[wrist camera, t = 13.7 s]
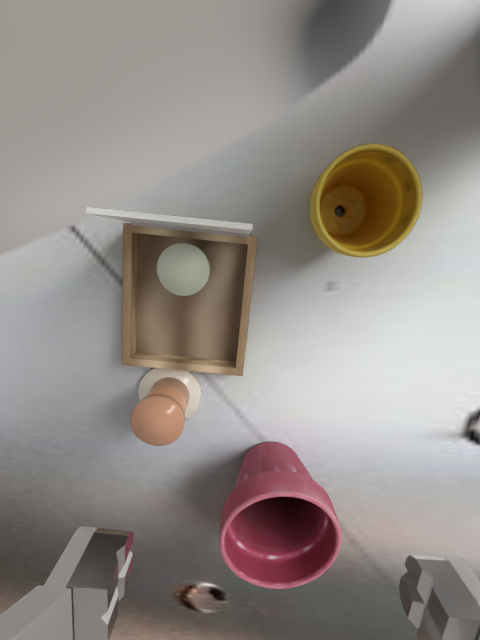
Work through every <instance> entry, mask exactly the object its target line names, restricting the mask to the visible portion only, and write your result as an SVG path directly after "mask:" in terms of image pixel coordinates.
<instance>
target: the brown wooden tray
mask: <svg viewBox="0 0 480 640" xmlns="http://www.w3.org/2000/svg"><path fill="white" fill-rule="evenodd" d="M178 243H187V244H191V245H194V246H196V247H198V248H199V249H201V250H202V251H204V252H205V253H206V255H207V256H208V258H209V260H210V263H211V270H210V275H209V279H208V281H207V283H206V284H205V286H204V287H203V288H202V289H201V290H200V291H198V292H197V293H195V294H193V295H189V296H179V295H176V294H173V293H171V292H169V291H168V290H167V289H166V288H165V287H164V286H163V285H162V284H161V282H160V280H159V278H158V274H157V263H158V260H159V257H160V255H161V254H162V252H163V251H164V250H165V249H167V248H168V247H170V246H171V245H174V244H178ZM256 246H257V236H249V237H240V236H230V235H220V234H210V233H201V232H191V231H181V230H171V229H161V228H151V227H142V226H132V225H131V224H129V223H123V317H122V365H131V366H142V367H153V368H163V369H174V370H184V371H195V372H206V373H216V374H227V375H237V376H243V367H244V358H245V348H246V339H247V330H248V321H249V311H250V302H251V293H252V283H253V274H254V265H255V256H256Z"/></svg>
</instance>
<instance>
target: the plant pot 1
mask: <svg viewBox="0 0 480 640" xmlns="http://www.w3.org/2000/svg"><path fill="white" fill-rule="evenodd" d="M340 545H341V531H340V527H339V523H338V520H337V517H336V513H335V511H334V508H333V505H332V502H331V500H330V498H329V496H328V494H327V493H326V491H325V490H324V489H323V488H322V487H321V486H320V485H319V484H318V483H317V482H316V481H314V480H313V479H312V478H311V476H310V475H309V473H308V471H307V470H306V468H305V467H304V465H303V464H302V462H301V461H300V459H299V458H298V456H297V454H296V453H295V452H294V451H293V450H292V449H291V448H290V447H288V446H286V445H284V444H281V443H278V442H265V443H261V444H258V445H256V446H254V447H253V448H251V449H250V450H249V451H248V452H247V453H246V455H245V456H244V458H243V461H242V464H241V467H240V470H239V473H238V477H237V480H236V483H235V487H234V489H233V490H232V491H231V493H230V494H229V495H228V497H227V499H226V501H225V503H224V506H223V509H222V514H221V527H220V550H221V554H222V556H223V559H224V561H225V563H226V564H227V566H228V567H229V568H230V569H231V570H232V571H233V572H234V573H235V574H236V575H237V576H239V577H240V578H241V579H243V580H245V581H247V582H249V583H251V584H254V585H257V586H261V587H265V588H275V589H282V588H291V587H296V586H300V585H303V584H306V583H308V582H310V581H312V580H314V579H316V578H317V577H319V576H320V575H322V574H323V573H324V572H325V571H326V570H327V569H328V568H329V567H330V566H331V565H332V564H333V562H334V561H335V559H336V557H337V555H338V553H339V550H340Z"/></svg>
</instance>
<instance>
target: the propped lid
mask: <svg viewBox="0 0 480 640" xmlns="http://www.w3.org/2000/svg"><path fill="white" fill-rule="evenodd" d="M86 208H87V209H86V211H87V213H88V214H93V215H98V216H103V217H108V218H113V219H117V220H122V221H127V222H131V225H132V226H142V227H151V228H161V229H171V230H181V231H191V232H201V233H210V234H220V235H230V236H240V237H249V234H250V233H251V231H252V227H253V224H248V223H239V222H229V221H219V220H209V219H199V218H190V217H180V216H170V215H160V214H151V213H141V212H131V211H121V210H111V209H102V208H92V207H86Z"/></svg>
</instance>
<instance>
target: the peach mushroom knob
mask: <svg viewBox="0 0 480 640" xmlns="http://www.w3.org/2000/svg"><path fill="white" fill-rule="evenodd" d="M189 398H190V395H189V390H188V388H187V386H186V385H185V384H184V383H183V382H182V381H180V380H179V379H176V378H172V377H166V378H162V379H160V380H158V381H157V382H155V383H154V385H153V386H152V388H151V389H150V391H149V393H148V394H147V396H146V397H144V398H143V399H142V400H141V401H139V403H138V404H137V405H136V407H135V409H134V410H133V412H132V415H131V427H132V430H133V431H134V433H135V435H136V436H137V437H138V438H139V439H140V440H142V441H143V442H145V443H147V444H150V445H155V446H163V445H167V444H170V443H172V442H174V441H175V440H176V439H177V438H178V437H179V436H180V434H181V432H182V430H183V427H184V423H185V411H186V408H187V405H188V402H189Z"/></svg>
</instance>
